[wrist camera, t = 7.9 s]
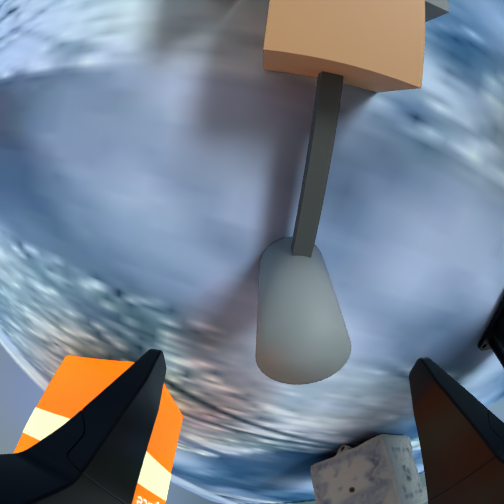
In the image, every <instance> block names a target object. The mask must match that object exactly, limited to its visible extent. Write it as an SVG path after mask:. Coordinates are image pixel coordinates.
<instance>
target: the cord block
mask: <svg viewBox="0 0 504 504" xmlns="http://www.w3.org/2000/svg"><path fill="white" fill-rule="evenodd" d="M424 45H425V0H270V3H269V10H268V17H267V25H266V32H265V40H264V48H263V57H264V70H270V71H278V72H285V73H292V74H298V75H304V76H309V77H315V78H318V81H317V88H316V96H315V103H314V111H313V118H312V125H311V131H310V138H309V145H308V151H307V157H306V164H305V170H304V176H303V182H302V188H301V194H300V200H299V205H298V211H297V217H296V222H295V228H294V233H293V237H286V238H282V239H279V240H277V241H275V242H273V243H272V244H271V245H269V246H268V247H267V248H266V250H265V251H264V252H263V254H262V256H261V259H260V267H259V291H258V314H257V336H256V362H257V365H258V367H259V369H260V370H261V371H262V372H263V373H264V374H265V375H266V376H268V377H269V378H271V379H273V380H275V381H278V382H281V383H286V384H297V385H300V384H309V383H314V382H318V381H321V380H323V379H326V378H328V377H330V376H332V375H333V374H335V373H336V372H337V371H339V370H340V369H341V368H342V367H343V366H344V365H345V363H346V362H347V360H348V358H349V356H350V353H351V342H350V338H349V335H348V332H347V329H346V325H345V322H344V319H343V316H342V313H341V310H340V307H339V304H338V300H337V297H336V294H335V291H334V288H333V285H332V283H331V280H330V277H329V274H328V271H327V268H326V265H325V262H324V260H323V257H322V254H321V252H320V250H319V249H318V248H317V246H316V245H314V243H315V238H316V234H317V229H318V224H319V220H320V215H321V210H322V205H323V200H324V195H325V190H326V185H327V179H328V174H329V168H330V163H331V157H332V151H333V145H334V139H335V133H336V127H337V120H338V113H339V107H340V99H341V92H342V84H347V85H351V86H355V87H359V88H363V89H366V90H370V91H373V92H377V93H378V92H386V91H395V90H405V89H416V88H421V84H422V74H423V62H424Z"/></svg>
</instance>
